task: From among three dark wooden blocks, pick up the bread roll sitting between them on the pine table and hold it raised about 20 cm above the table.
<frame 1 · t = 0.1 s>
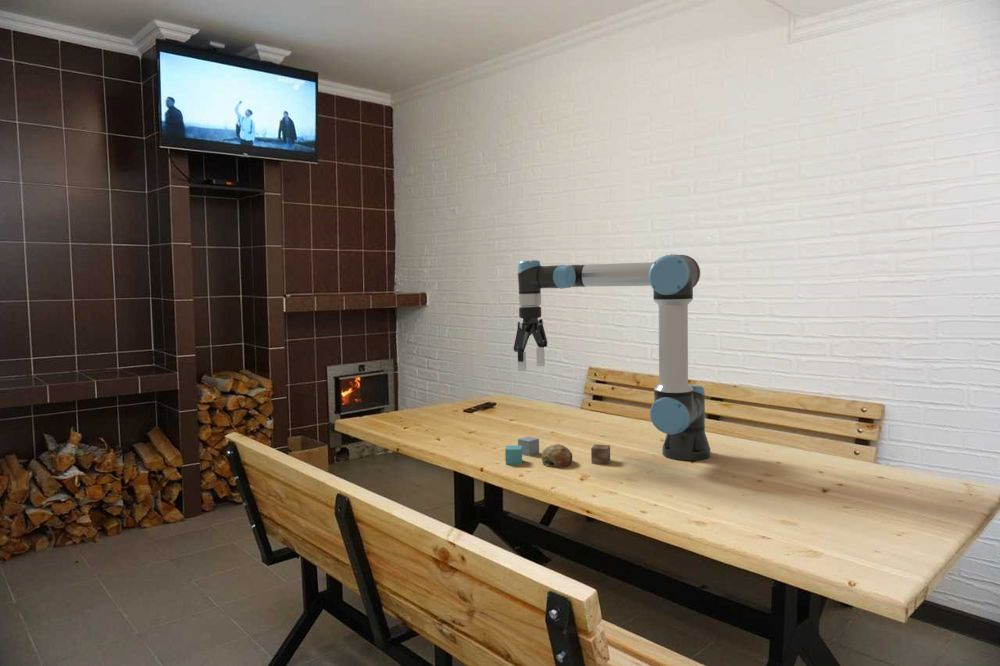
hand: (531, 368, 240), 28 cm above the table, fingers open, 13 cm apart
slate grey block: (528, 453, 237), on the table
dark teal block: (514, 462, 227), on the table
bread roll: (557, 464, 224), on the table
walnut block: (601, 462, 224), on the table
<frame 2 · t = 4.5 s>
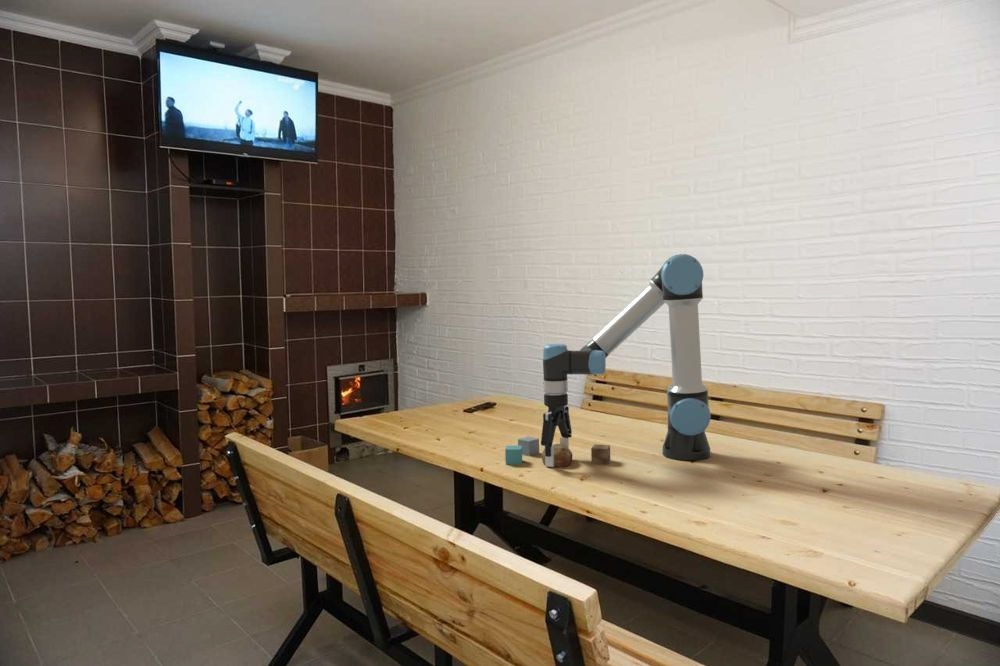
hand: (557, 461, 224), 0 cm above the table, fingers closed on bread roll, 10 cm apart
bread roll: (557, 463, 224), on the table, touching gripper
everything else where it was.
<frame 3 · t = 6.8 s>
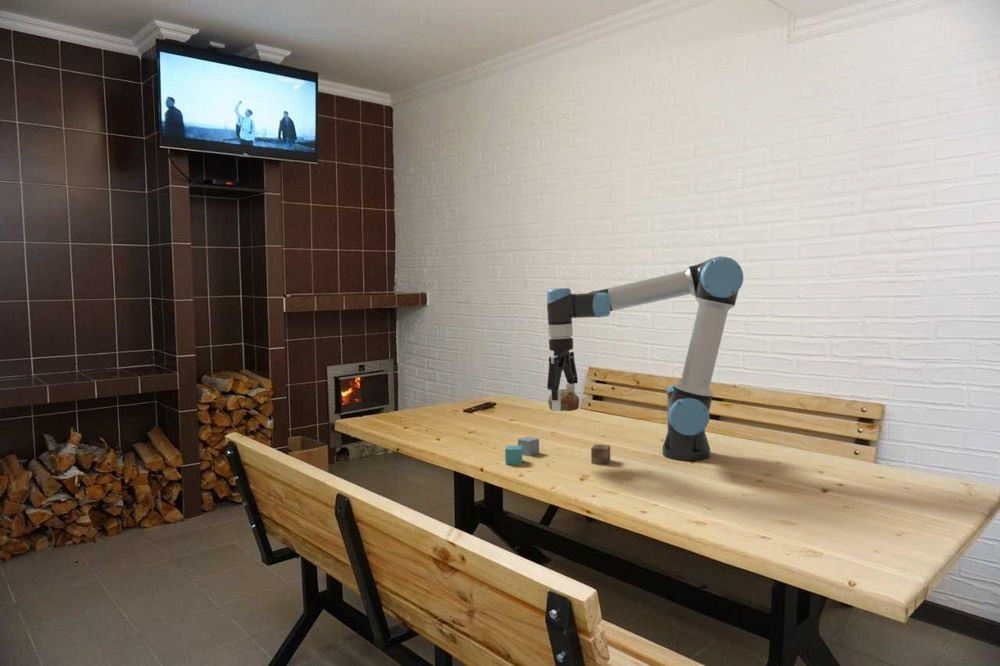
hand: (564, 407, 223), 18 cm above the table, fingers closed on bread roll, 10 cm apart
bread roll: (564, 409, 223), point 17 cm above the table, touching gripper
everything else where it was.
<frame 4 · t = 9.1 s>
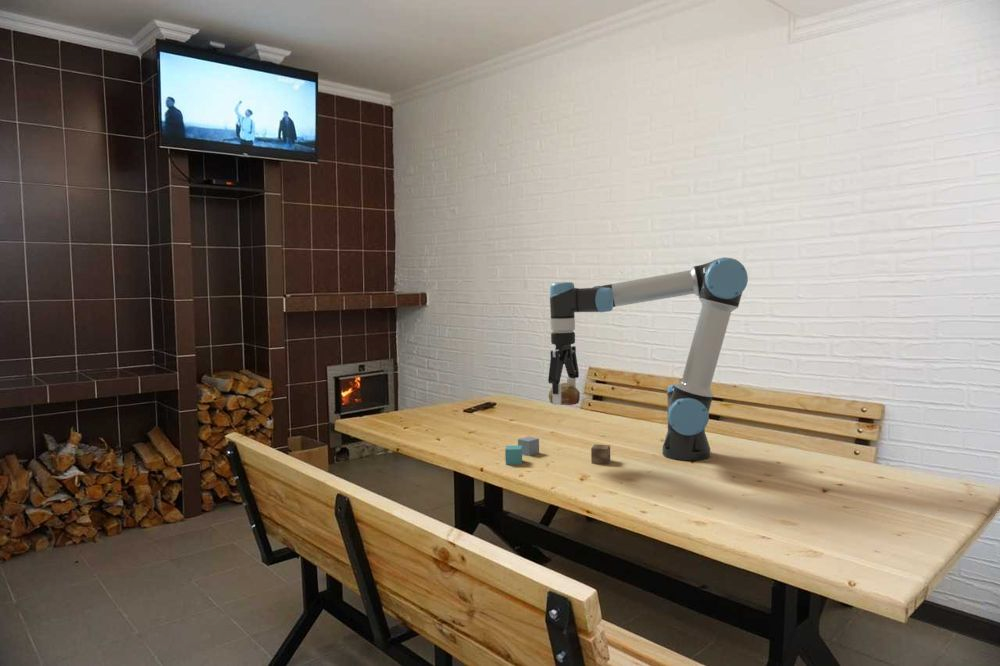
hand: (564, 401, 223), 20 cm above the table, fingers closed on bread roll, 10 cm apart
bread roll: (564, 402, 223), point 19 cm above the table, touching gripper
everything else where it was.
at the end: the gripper is holding bread roll; bread roll point 19.1 cm above the table; walnut block moved 0.1 cm from its start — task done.
